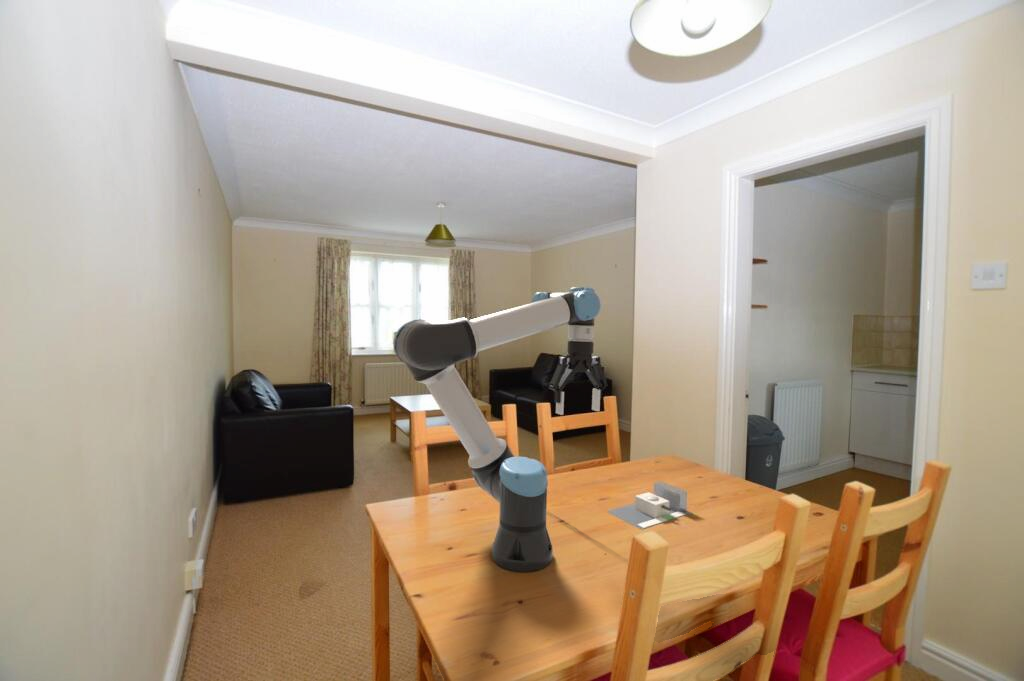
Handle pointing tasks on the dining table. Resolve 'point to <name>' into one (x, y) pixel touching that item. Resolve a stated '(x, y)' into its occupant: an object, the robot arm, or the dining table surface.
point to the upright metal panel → (672, 496)
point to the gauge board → (643, 516)
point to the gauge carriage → (652, 505)
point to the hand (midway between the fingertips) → (578, 412)
